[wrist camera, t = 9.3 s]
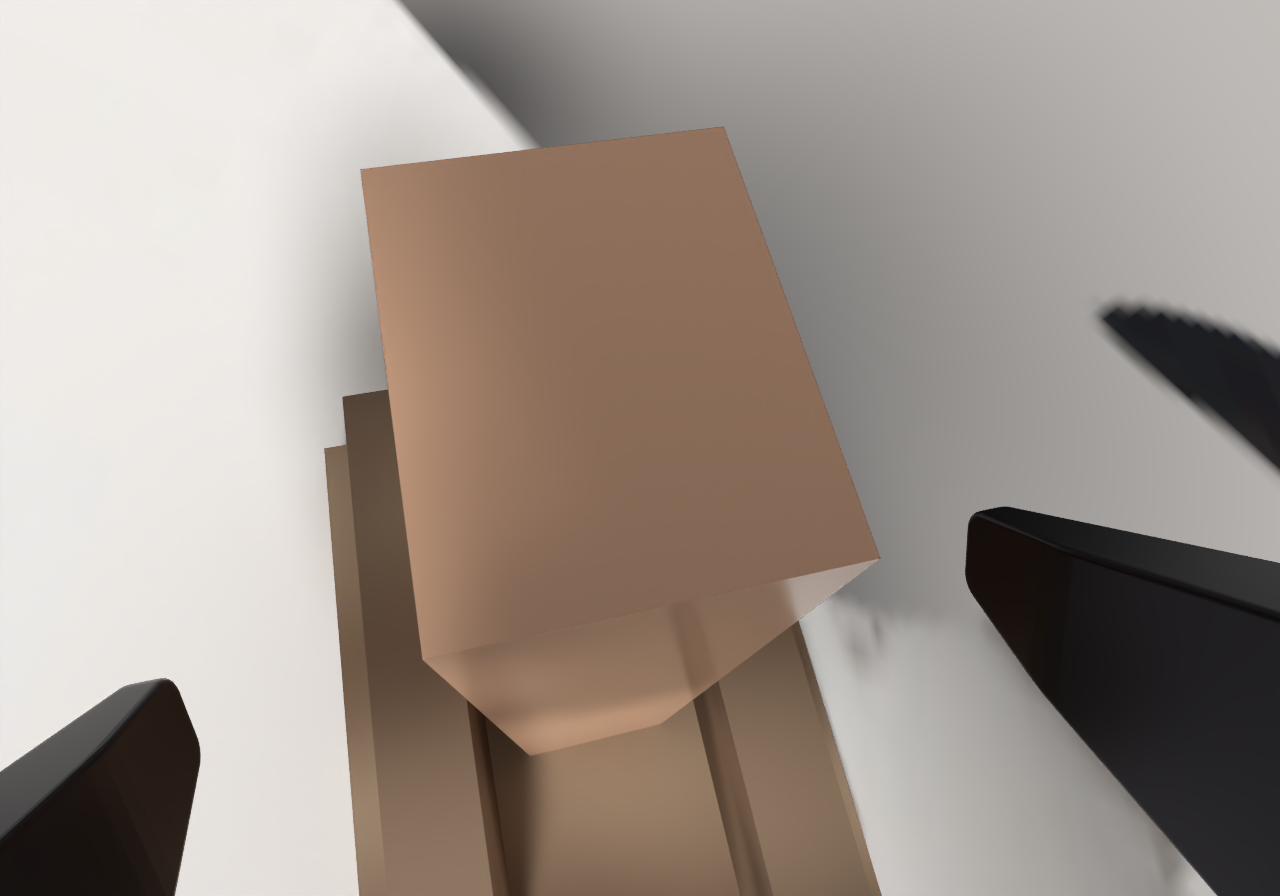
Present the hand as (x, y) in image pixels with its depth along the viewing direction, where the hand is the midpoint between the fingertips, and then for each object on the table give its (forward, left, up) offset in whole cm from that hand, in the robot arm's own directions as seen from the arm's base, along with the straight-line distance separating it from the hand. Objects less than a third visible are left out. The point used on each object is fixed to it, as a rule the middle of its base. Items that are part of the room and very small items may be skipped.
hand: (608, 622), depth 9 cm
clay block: (+1, 0, -9) cm, 9 cm away
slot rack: (+1, 0, -10) cm, 10 cm away
